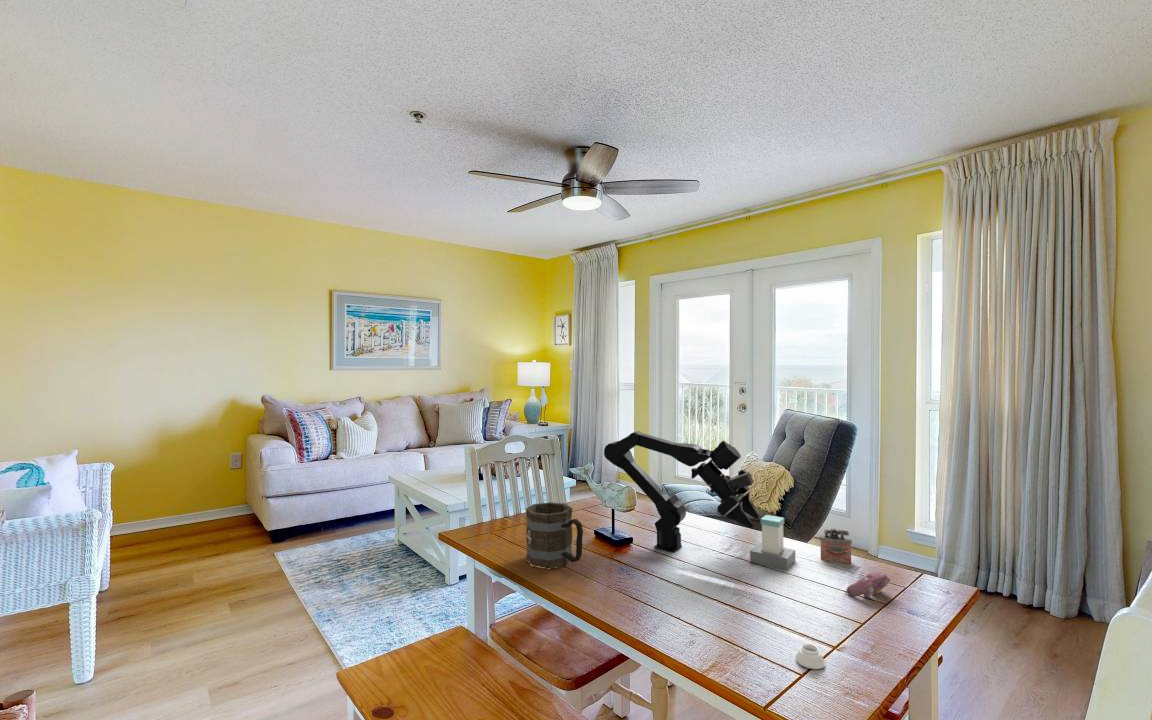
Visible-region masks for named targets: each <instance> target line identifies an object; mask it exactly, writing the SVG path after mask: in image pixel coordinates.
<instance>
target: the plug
mask: <svg viewBox="0 0 1152 720" xmlns="http://www.w3.org/2000/svg"><path fill="white" fill-rule="evenodd" d="M784 524H785V517H782V516H775V515H770V514H765V515H764V516H763V517H761V518H760V525H761V543H762V552H767V553H771V554H776V555H780V554H781V553H782V552H783V548H784Z"/></svg>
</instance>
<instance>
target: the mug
mask: <svg viewBox="0 0 1152 720" xmlns="http://www.w3.org/2000/svg"><path fill="white" fill-rule="evenodd" d="M525 511H526V513H525V514H526V532H525V533H526V534H525V537H526V556H525V557H526V558H525V560H526V559H527V560H528V561H529V562H530V563H531V564H532V565H535V566H540V567H545V568H555V567H560V568H563V567H562V566H566V565H567V564H568V563H569V562H570V561H571V562H572V563H575V562H579V561H580V560H581V558H582V555H583V538H584V536H583V534H584V530H583V529H584V528H583V525H582V522H581V521H580V520H579V519H577V518H574V519H573V518H572V516H573V507H572V506H571V505H568V504H567V503H561V502H553V501H551V502H550V501H549V502H542V503H540V502H539V503H533V504H532V505H530V506H528V507H526V508H525ZM573 524H574V525H575V527H576V533H577V534H576V539H575V540H576V541H575V542H576V543H575V544H576V546H575V549H576V550H575V556H574V555H573V552H572V550H573V549H572V545H573V543H572V541H573V527H572V526H573ZM571 562H570V563H571ZM570 563H569V564H570ZM569 564H568V565H569ZM568 565H567V566H568ZM567 566H566V567H567ZM555 569H556V568H555Z"/></svg>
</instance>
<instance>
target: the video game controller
mask: <svg viewBox="0 0 1152 720" xmlns="http://www.w3.org/2000/svg"><path fill="white" fill-rule="evenodd" d="M890 582H891V578H890V577H888V576H887V575H886V574H885V573H882V571H879V572H878V571H877V572H875V571H873V572H872V571H871V572H868V573H867V574H866V575H865V576H863V577H861V578H860V579H858V581H856V582H854V583H853V584H850V585H849V586H847V587H846V593H847V594H848V595H849V596H852V597H858V596H861V595H863V596H864V597H865V598H869V597H870V596H871V595H872V594H873V595H875V596H876V595H877V594H880V592H881V591H882V590H883V589H884V588H886V587H887V586H888V585H889V584H890Z"/></svg>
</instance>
